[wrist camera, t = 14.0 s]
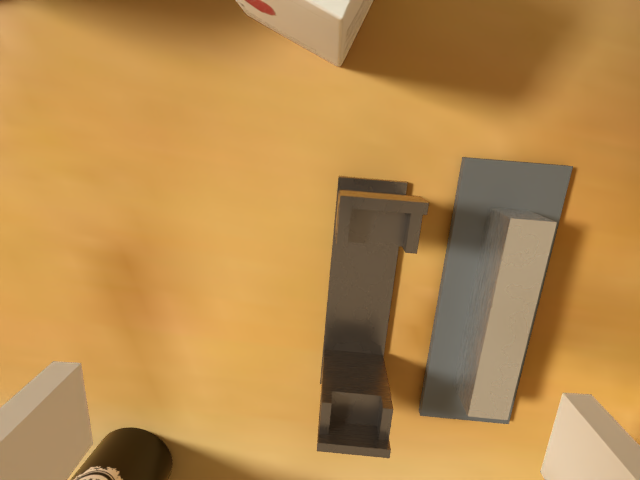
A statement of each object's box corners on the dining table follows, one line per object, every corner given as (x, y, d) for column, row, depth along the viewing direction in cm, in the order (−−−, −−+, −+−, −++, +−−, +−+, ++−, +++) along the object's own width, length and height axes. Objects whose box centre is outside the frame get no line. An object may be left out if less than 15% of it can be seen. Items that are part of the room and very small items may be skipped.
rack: (338, 176, 35) (339, 192, 26) (406, 181, 35) (430, 200, 26) (320, 380, 40) (315, 452, 31) (378, 385, 40) (390, 460, 31)
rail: (488, 207, 34) (510, 218, 30) (529, 210, 34) (557, 222, 30) (453, 384, 39) (467, 416, 35) (488, 388, 39) (507, 420, 35)
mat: (462, 157, 34) (465, 157, 33) (567, 165, 34) (572, 166, 33) (418, 410, 41) (420, 415, 40) (505, 418, 41) (508, 424, 40)
